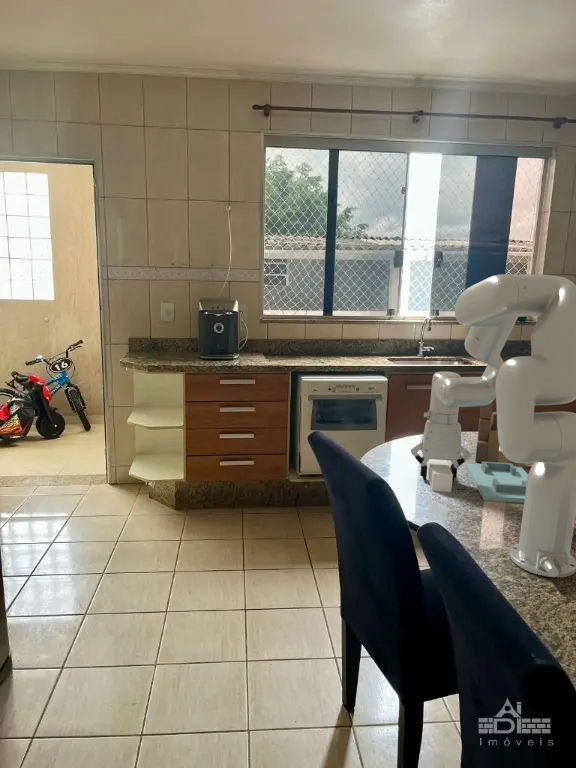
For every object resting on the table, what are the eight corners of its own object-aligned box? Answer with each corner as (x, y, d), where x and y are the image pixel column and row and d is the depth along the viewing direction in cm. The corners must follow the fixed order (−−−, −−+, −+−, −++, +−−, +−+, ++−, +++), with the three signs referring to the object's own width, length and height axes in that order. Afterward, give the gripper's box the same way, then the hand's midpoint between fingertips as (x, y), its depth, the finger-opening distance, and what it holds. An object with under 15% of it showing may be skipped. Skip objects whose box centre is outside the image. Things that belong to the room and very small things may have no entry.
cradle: (548, 504, 144) (550, 492, 143) (483, 500, 145) (485, 488, 145) (520, 470, 167) (522, 460, 166) (465, 467, 169) (466, 457, 168)
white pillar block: (451, 492, 150) (453, 474, 149) (431, 490, 150) (433, 472, 149) (443, 473, 164) (444, 456, 162) (425, 471, 164) (426, 455, 163)
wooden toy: (498, 465, 171) (507, 384, 166) (475, 462, 173) (483, 382, 168) (498, 450, 185) (506, 375, 180) (476, 447, 188) (484, 373, 182)
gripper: (412, 419, 150) (407, 482, 154) (479, 423, 149) (472, 486, 152) (409, 412, 158) (404, 472, 161) (473, 415, 156) (467, 476, 160)
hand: (437, 478), depth 157 cm, fingers open, 6 cm apart
